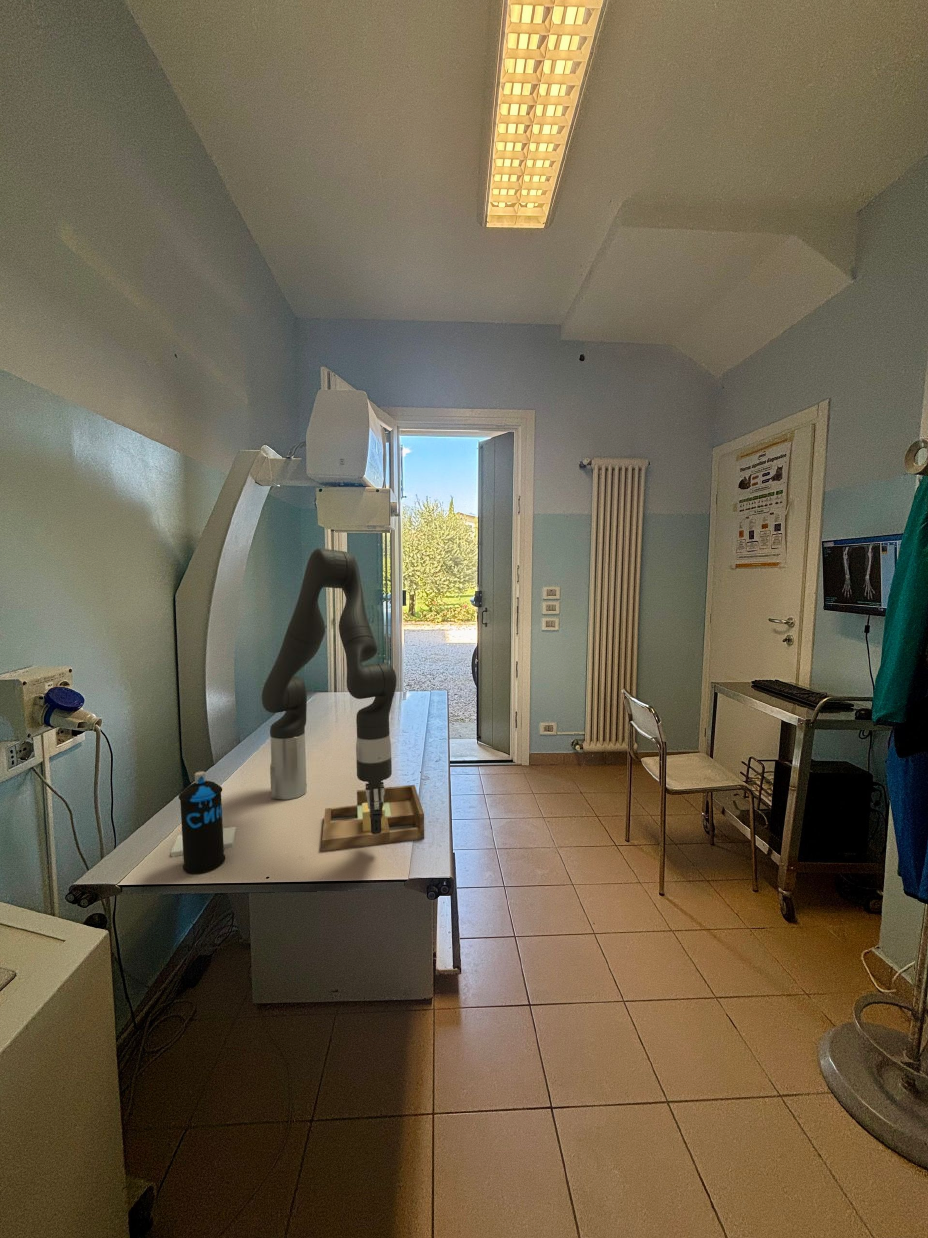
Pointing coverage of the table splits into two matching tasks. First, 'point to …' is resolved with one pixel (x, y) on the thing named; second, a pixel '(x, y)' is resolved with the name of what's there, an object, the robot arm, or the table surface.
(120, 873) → the table surface
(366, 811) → the block
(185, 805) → the aerosol can
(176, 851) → the external hard drive
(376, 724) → the robot arm
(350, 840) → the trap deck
